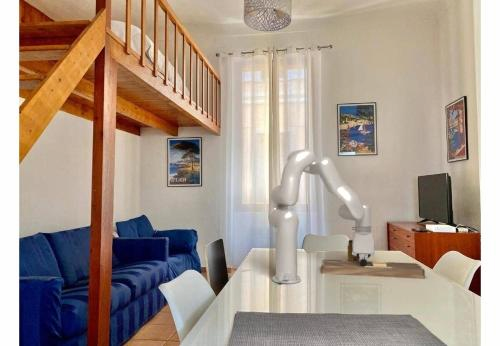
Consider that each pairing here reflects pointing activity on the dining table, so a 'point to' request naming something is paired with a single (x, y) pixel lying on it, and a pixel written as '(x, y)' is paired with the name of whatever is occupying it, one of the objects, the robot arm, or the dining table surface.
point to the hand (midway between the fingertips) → (363, 267)
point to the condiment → (350, 249)
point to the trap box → (373, 269)
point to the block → (379, 264)
